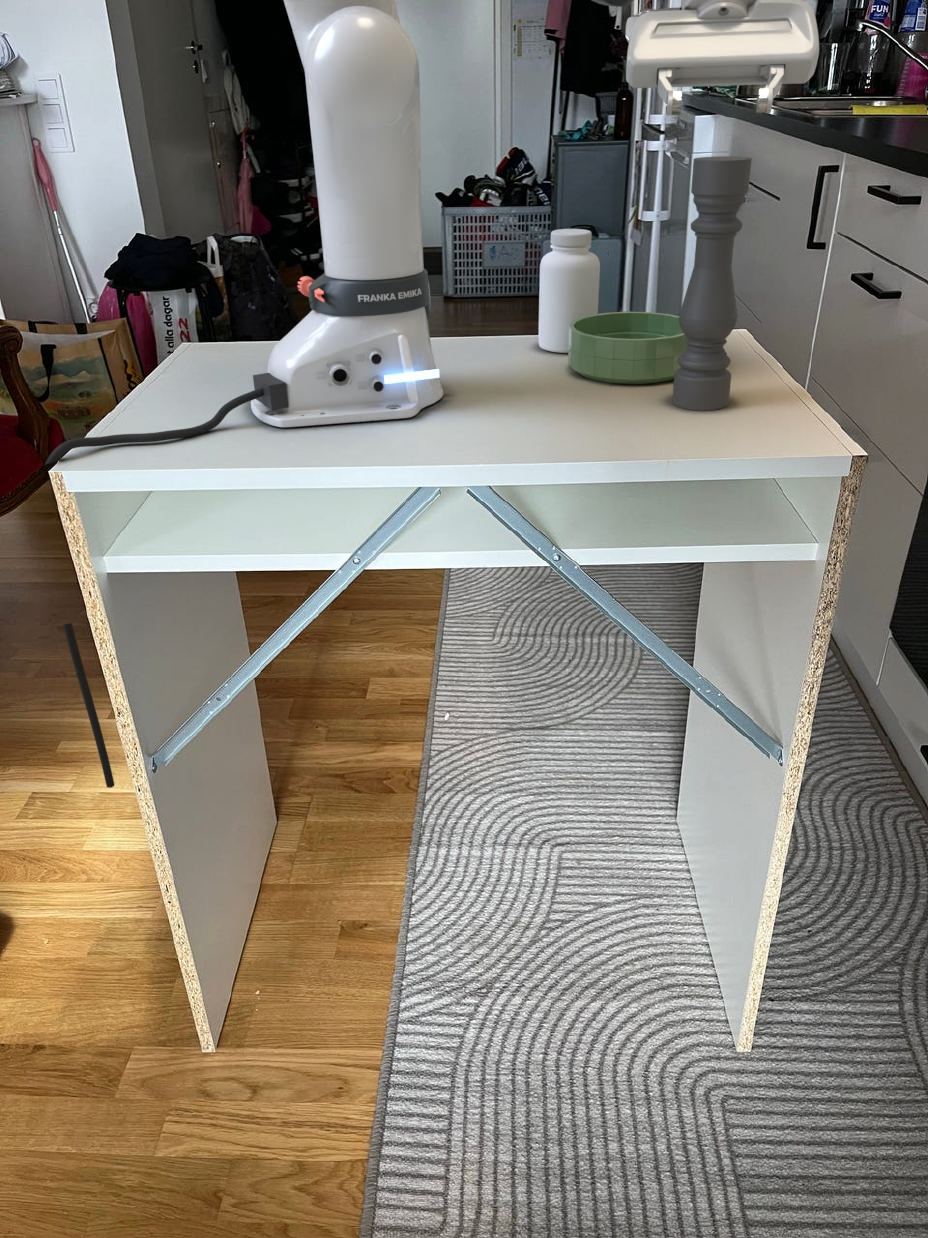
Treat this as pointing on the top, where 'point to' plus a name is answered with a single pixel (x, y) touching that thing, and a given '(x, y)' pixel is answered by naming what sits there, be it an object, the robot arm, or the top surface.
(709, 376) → the candle holder
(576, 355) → the bowl
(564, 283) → the pill bottle
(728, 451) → the top surface
